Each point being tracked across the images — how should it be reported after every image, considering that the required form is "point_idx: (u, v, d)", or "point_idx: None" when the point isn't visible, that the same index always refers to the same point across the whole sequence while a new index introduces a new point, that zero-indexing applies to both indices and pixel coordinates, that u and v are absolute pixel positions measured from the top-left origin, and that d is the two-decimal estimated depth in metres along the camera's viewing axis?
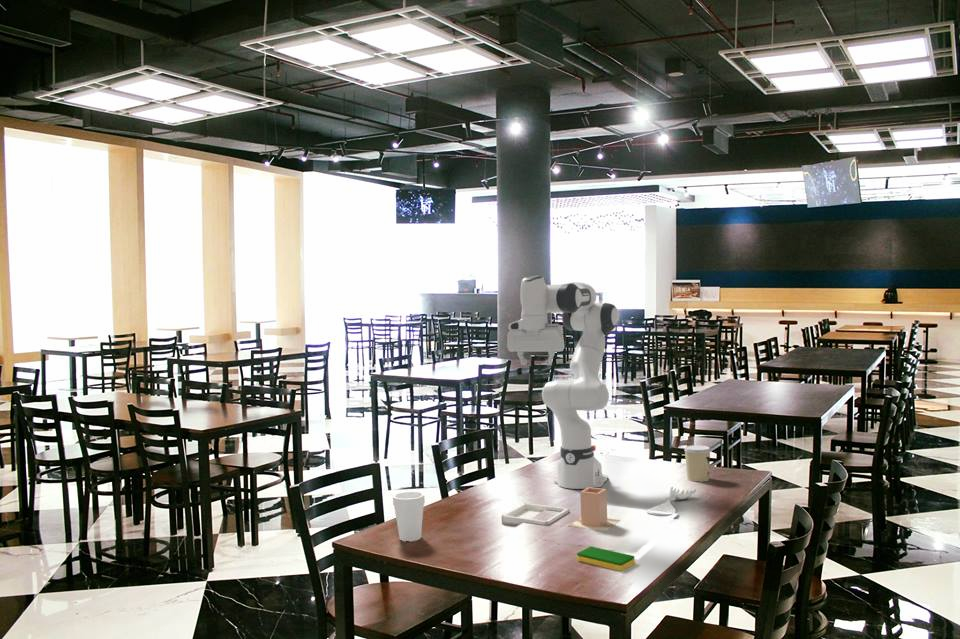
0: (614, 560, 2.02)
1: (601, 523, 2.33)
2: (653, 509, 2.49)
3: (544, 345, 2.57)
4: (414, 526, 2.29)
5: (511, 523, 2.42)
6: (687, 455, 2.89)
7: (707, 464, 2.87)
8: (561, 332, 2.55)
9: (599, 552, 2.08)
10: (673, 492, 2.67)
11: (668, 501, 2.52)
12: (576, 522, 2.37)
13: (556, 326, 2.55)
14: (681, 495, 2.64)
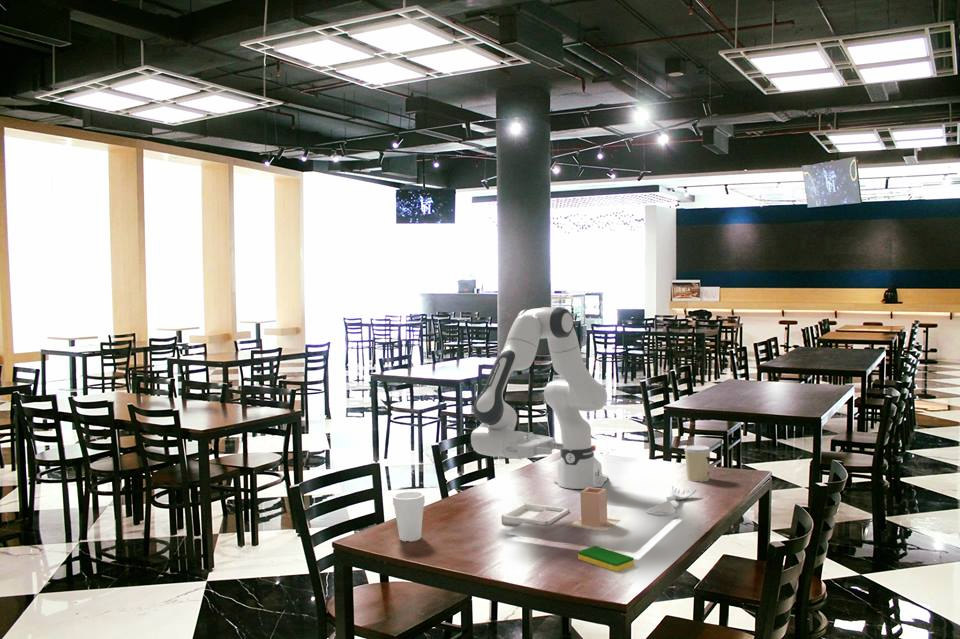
0: (611, 560, 2.01)
1: (601, 523, 2.33)
2: (653, 509, 2.49)
3: None
4: (414, 526, 2.29)
5: (511, 523, 2.42)
6: (687, 455, 2.89)
7: (707, 464, 2.87)
8: (511, 451, 2.38)
9: (600, 552, 2.08)
10: (673, 492, 2.67)
11: (668, 501, 2.53)
12: (576, 522, 2.37)
13: None
14: (681, 495, 2.65)
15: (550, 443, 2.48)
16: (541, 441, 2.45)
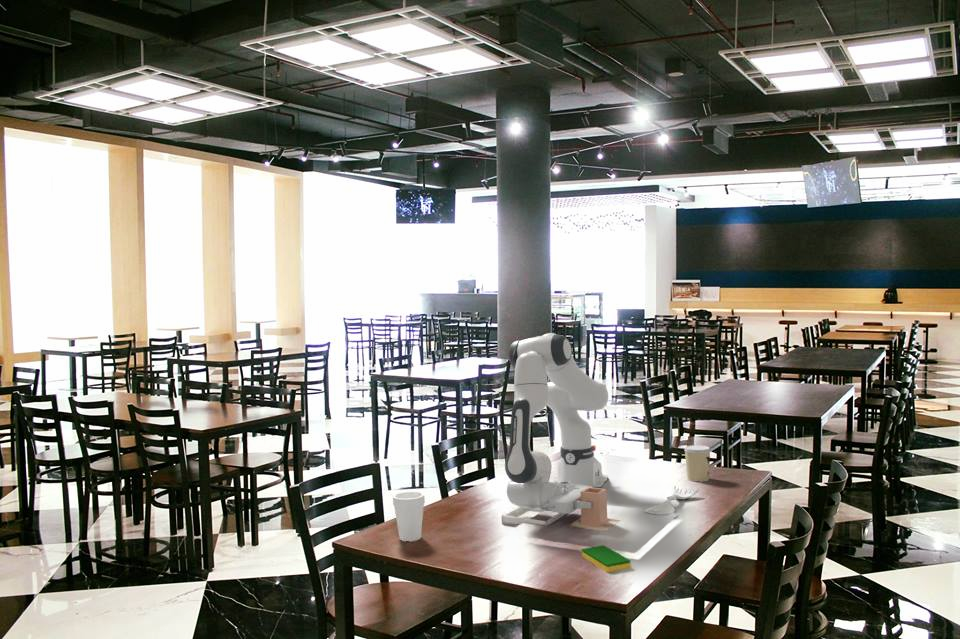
0: (605, 561, 2.01)
1: (601, 523, 2.33)
2: (652, 508, 2.50)
3: None
4: (414, 526, 2.29)
5: (511, 523, 2.42)
6: (687, 455, 2.89)
7: (707, 464, 2.87)
8: (549, 507, 2.32)
9: (602, 551, 2.08)
10: (675, 492, 2.67)
11: (668, 500, 2.53)
12: (576, 522, 2.37)
13: None
14: (683, 495, 2.65)
15: None
16: (579, 493, 2.38)
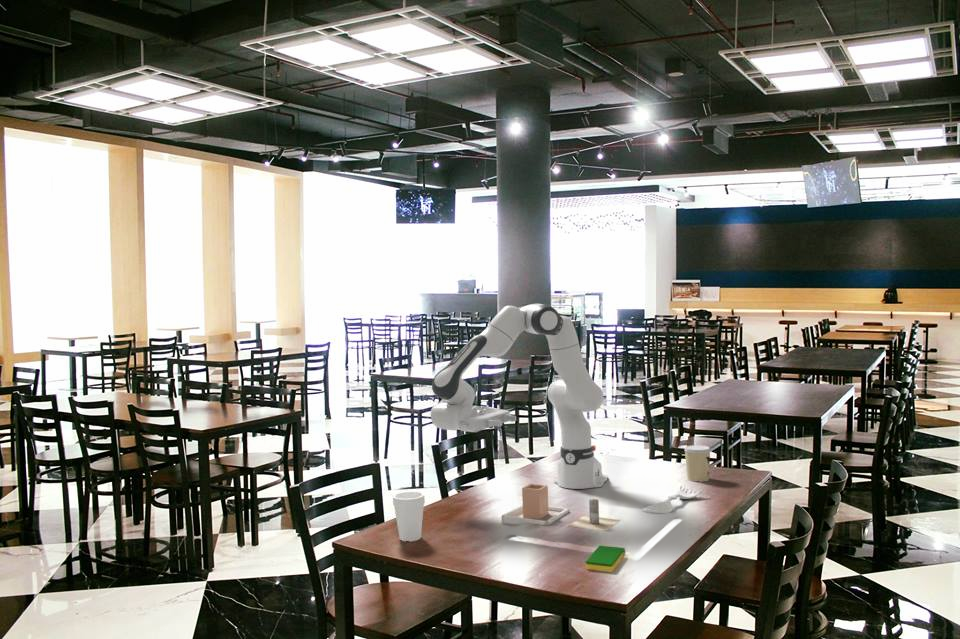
0: (591, 558, 2.03)
1: None
2: (651, 507, 2.51)
3: None
4: (414, 526, 2.29)
5: (511, 523, 2.42)
6: (687, 455, 2.89)
7: (707, 464, 2.87)
8: (464, 425, 2.54)
9: (608, 552, 2.08)
10: (680, 491, 2.67)
11: (668, 500, 2.54)
12: (576, 522, 2.37)
13: None
14: (687, 495, 2.65)
15: (504, 416, 2.63)
16: (494, 414, 2.60)
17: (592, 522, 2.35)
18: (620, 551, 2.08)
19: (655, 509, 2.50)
